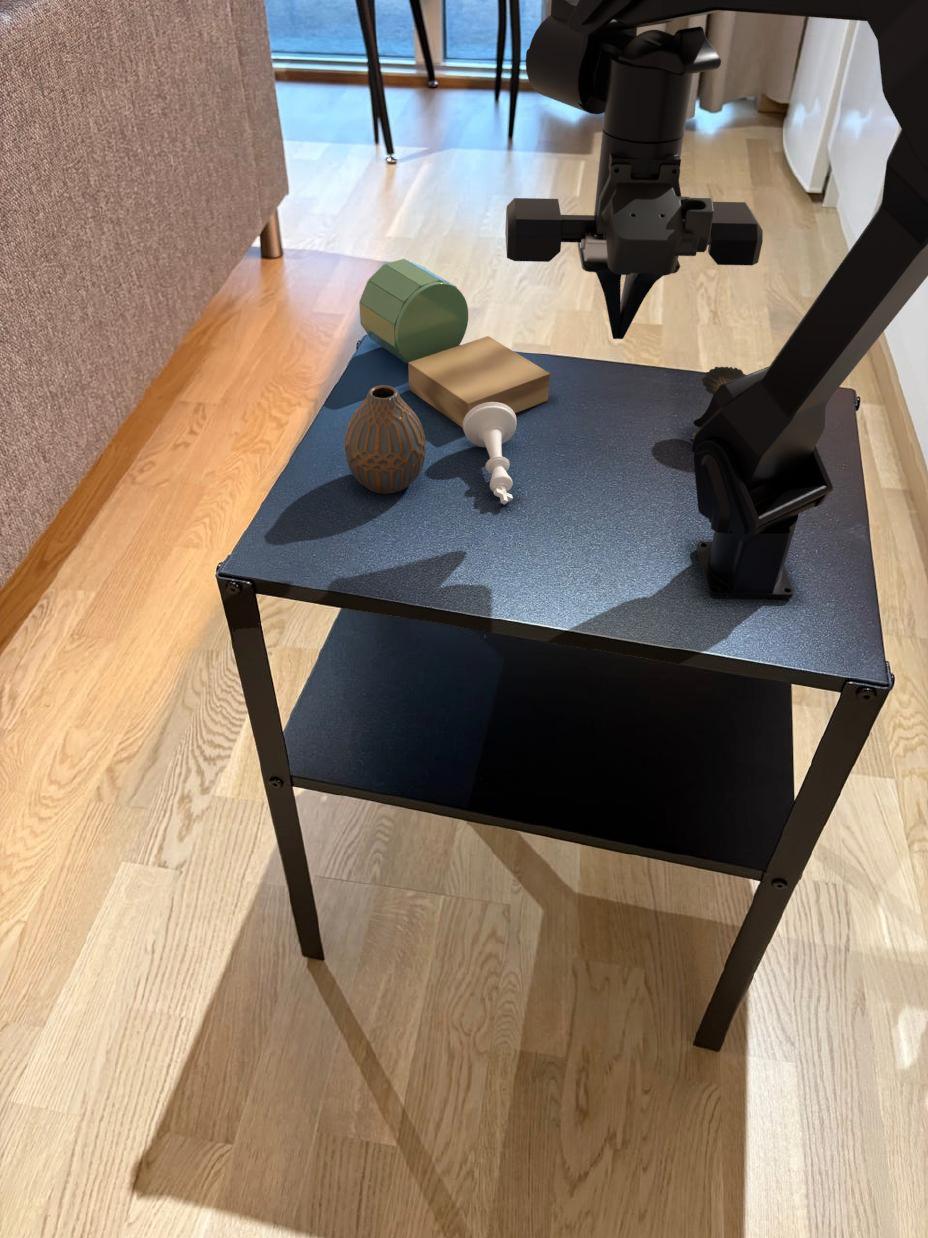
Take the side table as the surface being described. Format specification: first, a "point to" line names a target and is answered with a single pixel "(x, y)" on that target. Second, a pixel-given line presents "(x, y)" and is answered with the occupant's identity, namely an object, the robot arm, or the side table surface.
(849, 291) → the robot arm
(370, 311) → the cup
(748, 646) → the side table surface
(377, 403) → the vase
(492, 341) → the block
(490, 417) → the chess piece
